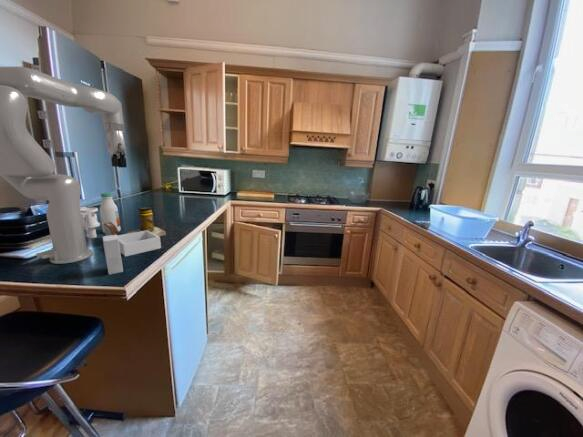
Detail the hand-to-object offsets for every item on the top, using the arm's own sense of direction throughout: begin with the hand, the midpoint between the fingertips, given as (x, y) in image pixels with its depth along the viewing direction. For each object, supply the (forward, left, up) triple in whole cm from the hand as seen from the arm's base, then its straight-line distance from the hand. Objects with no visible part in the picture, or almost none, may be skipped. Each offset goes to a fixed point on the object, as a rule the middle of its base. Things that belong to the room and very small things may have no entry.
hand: (119, 166), depth 118 cm
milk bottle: (-4, +12, -34) cm, 36 cm away
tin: (-8, -6, -34) cm, 35 cm away
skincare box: (-16, -42, -34) cm, 56 cm away
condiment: (+6, -7, -32) cm, 33 cm away
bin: (-3, -23, -33) cm, 41 cm away
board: (+6, -7, -33) cm, 35 cm away
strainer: (-13, +7, -34) cm, 37 cm away
